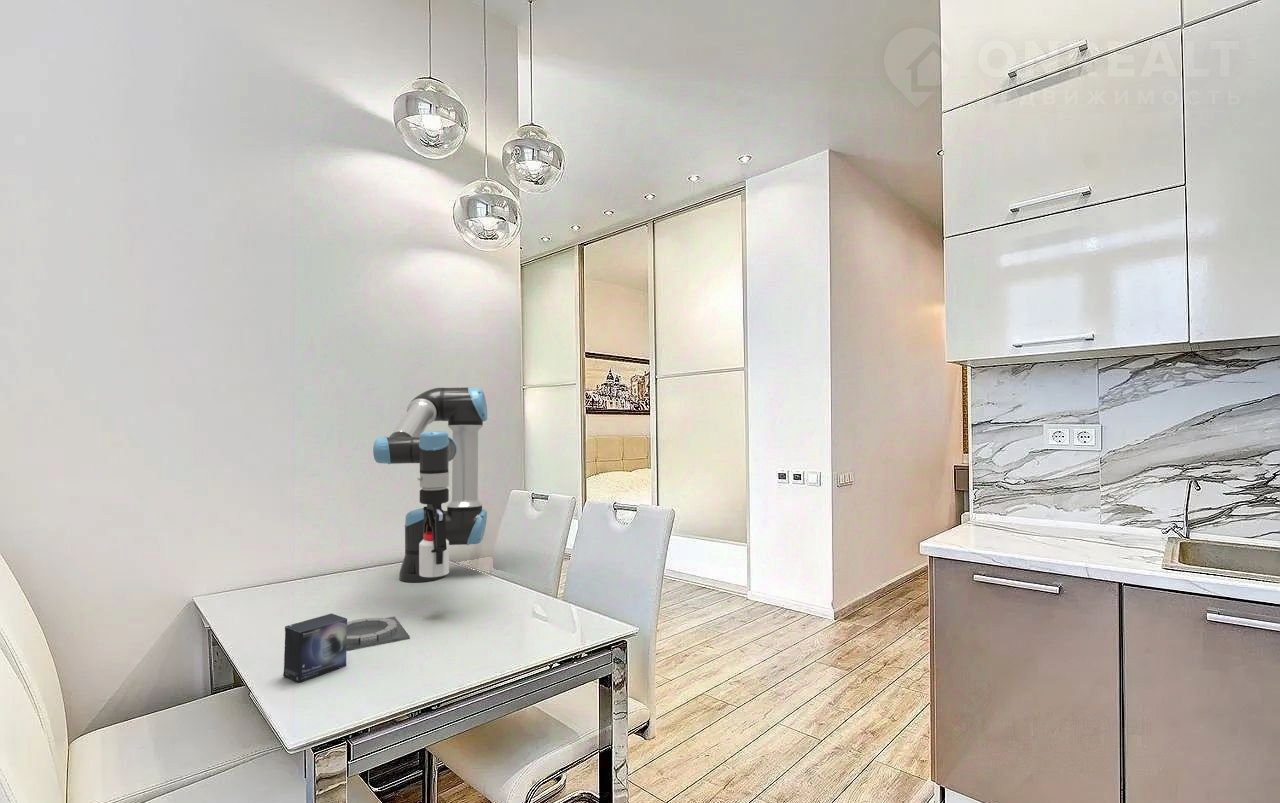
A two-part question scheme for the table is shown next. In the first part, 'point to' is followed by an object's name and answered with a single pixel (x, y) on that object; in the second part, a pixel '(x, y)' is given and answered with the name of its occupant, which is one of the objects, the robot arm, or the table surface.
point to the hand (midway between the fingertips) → (434, 572)
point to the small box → (315, 647)
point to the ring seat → (374, 632)
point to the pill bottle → (430, 556)
